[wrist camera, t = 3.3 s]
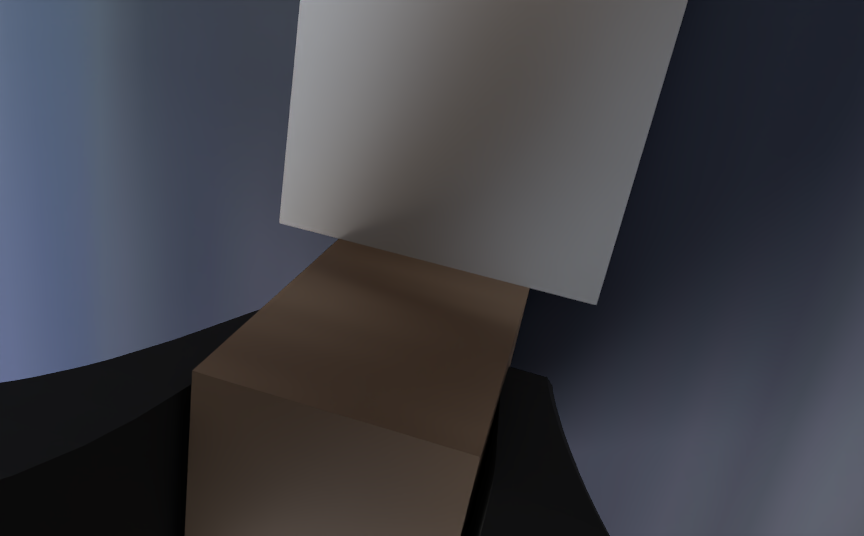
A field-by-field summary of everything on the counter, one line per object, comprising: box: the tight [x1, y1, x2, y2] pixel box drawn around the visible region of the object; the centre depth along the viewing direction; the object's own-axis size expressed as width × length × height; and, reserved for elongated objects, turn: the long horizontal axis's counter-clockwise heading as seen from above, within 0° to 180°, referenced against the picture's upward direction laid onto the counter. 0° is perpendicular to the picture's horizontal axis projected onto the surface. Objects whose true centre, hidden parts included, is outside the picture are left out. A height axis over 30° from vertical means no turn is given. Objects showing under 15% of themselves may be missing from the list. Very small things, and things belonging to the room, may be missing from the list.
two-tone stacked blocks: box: [185, 0, 688, 536], centre depth 8 cm, size 5×12×5 cm, turn 170°
